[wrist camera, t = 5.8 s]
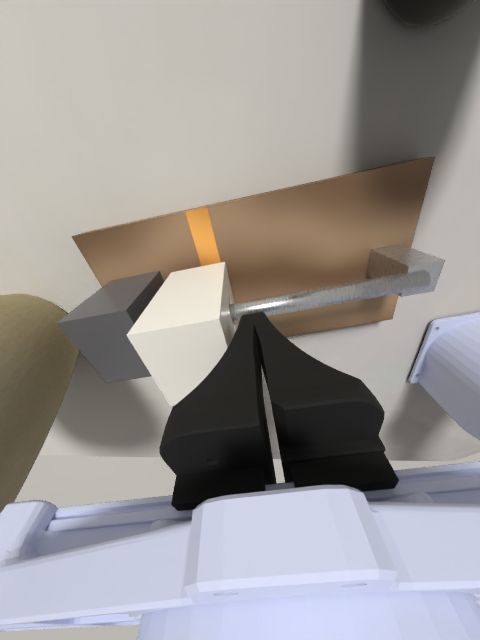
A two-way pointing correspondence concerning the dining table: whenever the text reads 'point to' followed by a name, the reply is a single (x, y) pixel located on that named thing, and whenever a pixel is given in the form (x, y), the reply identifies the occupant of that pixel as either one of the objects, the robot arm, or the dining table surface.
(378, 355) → the dining table surface
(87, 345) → the block
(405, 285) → the rail
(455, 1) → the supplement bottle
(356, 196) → the board
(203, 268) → the sleeve
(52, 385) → the plant pot
